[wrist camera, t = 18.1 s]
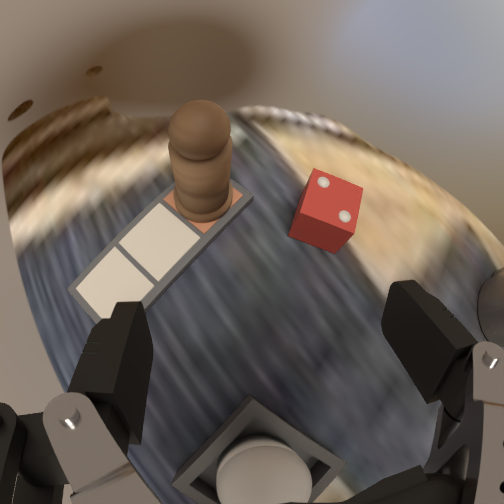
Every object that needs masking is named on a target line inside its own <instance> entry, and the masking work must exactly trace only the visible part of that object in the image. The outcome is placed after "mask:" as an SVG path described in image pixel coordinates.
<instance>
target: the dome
mask: <svg viewBox="0 0 504 504" xmlns="http://www.w3.org/2000/svg"><path fill="white" fill-rule="evenodd" d="M216 487H217V494H218V498H219V500H220V502H221V504H282V503H288V502H299V503H307V502H308V500H309V498H310V495H311V491H312V478H311V474H310V471H309V469H308V467H307V465H306V464H305V462H304V461H303V460H302V459H301V458H300V457H299V456H298V454H297V453H296V452H295V451H294V450H293V449H292V448H291V447H290V446H289V445H288V444H287V443H286V442H285V441H283V440H281V439H279V438H277V437H275V436H271V435H266V434H253V435H247V436H244V437H241V438H239V439H237V440H235V441H233V442H232V443H231V444H229V445H228V446H227V447H226V448H225V449H224V450H223V452H222V453H221V455H220V457H219V459H218V463H217V476H216Z"/></svg>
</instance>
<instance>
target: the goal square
mask: <svg viewBox="0 0 504 504" xmlns="http://www.w3.org/2000/svg"><path fill="white" fill-rule="evenodd" d="M173 193H174V190H173V191H172V192H170V193H169V194H168V195H167V196H166V197H165V198H164V199H163V200H164V201H165V202H166V203H167V204H168V205H170V206H171V207H172V208H173V209H174V210H176V211H177V212H178V213H179V211H178V210H177V208H176V205H175V201H174V194H173ZM242 196H243V195H242V194H241V193H240V192H239V191H237V190H236V189H235V188H233V199H232V204H231V207H232V206H233V205H234V204H235V203H236V202H237V201H238V200H239V199H240V198H241V197H242ZM231 207H230V208H231ZM179 214H180V213H179ZM180 215H181V214H180ZM185 219H186V218H185ZM186 220H187V221H189V220H188V219H186ZM218 220H219V219H218ZM218 220H216V221H213V222H210V223H196V222H192V221H189V222H190V223H191V224H192V225H193V226H195V227H196V228H197V229H198V230H199V231H201V232H202V233H203V234H205V233H206V232H207V231H208V230H209V229H210V228H211V227H212V226H213V225H214V224H215V223H216V222H217V221H218Z"/></svg>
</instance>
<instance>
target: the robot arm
mask: <svg viewBox="0 0 504 504" xmlns="http://www.w3.org/2000/svg"><path fill="white" fill-rule="evenodd" d="M478 316H479V321H480V325H481V328H482V331H483V333H484V335H485V337H486V338H487V340H488V341H489V342H486V341H484V342H479V343H478V342H477V341H476V339H475V338H474V337H473V336H472V335H471V334H470V333H469V332H468V330H467V329H466V328H465V327H464V326H463V325H462V324H461V323H460V322H459V321H458V319H457V318H456V317H455V318H454V315H453V314H452V313H451V312H450V311H449V310H447V308H446V307H445V306H444V305H443V303H442V302H441V301H440V300H439V299H437V298H436V297H434V296H432V295H431V294H429V293H427V292H426V291H425V290H424V289H423V288H422V287H421V286H420V285H419V284H418V283H417V282H416V281H415V280H405V281H397V282H393V283H392V284H391V286H390V289H389V293H388V297H387V301H386V305H385V309H384V313H383V316H382V321H381V327H382V332H383V335H384V337H385V338H386V340H387V341H388V343H389V344H390V346H391V347H392V349H393V350H394V352H395V354H396V355H397V357H398V358H399V360H400V361H401V363H402V365H403V366H404V368H405V369H406V371H407V372H408V374H409V376H410V377H411V379H412V380H413V382H414V384H415V385H416V387H417V389H418V390H419V392H420V394H421V395H422V397H423V398H424V400H425V402H426V403H427V404H429V403H431V402H434V401H437V400H439V399H440V400H441V402H442V404H441V406H440V407H439V410H438V416H437V422H436V428H435V434H434V439H433V444H432V449H431V453H430V456H429V459H428V461H427V463H426V465H425V466H424V468H423V469H422V467H421V465H418V466H416V467H414V468H411V469H409V470H406V471H403V472H401V473H398V474H395V475H393V476H390V477H387V478H384V479H382V480H381V481H379V482H377V483H376V484H374V485H372V486H371V487H369V488H367V489H366V490H364V491H362V492H360V493H359V494H357V495H355V496H353V497H351V498H350V499H348V500H346V501H343V502H338V503H299V502H288V503H282V504H504V349H502V348H501V347H500V346H504V267H503V268H501V269H499V270H497V271H495V272H494V275H493V277H492V278H490V279H488V280H487V281H486V282H485V283H484V284H483V286H482V288H481V290H480V293H479V299H478ZM152 361H153V343H152V338H151V335H150V331H149V327H148V323H147V319H146V315H145V311H144V307H143V304H142V302H141V301H127V302H117V303H116V305H115V307H114V309H113V312H112V314H111V317H110V318H102V319H101V320H100V321H99V322H98V323H97V324H96V325H95V326H94V327H93V328H92V330H91V332H90V335H89V337H88V339H87V344H85V347H84V349H83V354H81V357H80V359H79V362H78V364H77V367H76V369H75V372H74V375H73V377H72V380H71V383H70V385H69V388H68V391H67V393H64V394H61V395H59V396H57V397H55V398H54V399H52V400H51V401H50V402H49V403H48V405H47V406H46V408H45V410H44V412H41V413H34V414H27V415H19V416H18V415H17V414H16V413H15V412H14V410H13V409H12V408H11V407H10V406H9V405H7V404H5V403H0V504H62V497H63V489H64V484H70V485H71V487H72V490H73V494H71V496H70V498H71V502H72V504H163V503H162V501H161V500H160V499H159V498H158V497H157V495H156V494H155V493H154V492H153V490H152V489H151V488H150V487H149V485H148V484H147V483H146V482H145V480H144V479H143V478H142V476H141V475H140V474H139V472H138V471H137V470H136V468H135V467H134V466H133V464H132V463H131V461H130V460H129V458H128V457H127V452H128V445H129V444H138V445H141V439H142V430H143V422H144V414H145V407H146V400H147V393H148V386H149V379H150V373H151V367H152ZM17 474H18V476H17ZM16 477H17V481H16ZM15 482H16V487H15ZM14 487H15V491H14ZM13 493H14V497H13ZM12 498H13V503H12Z"/></svg>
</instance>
